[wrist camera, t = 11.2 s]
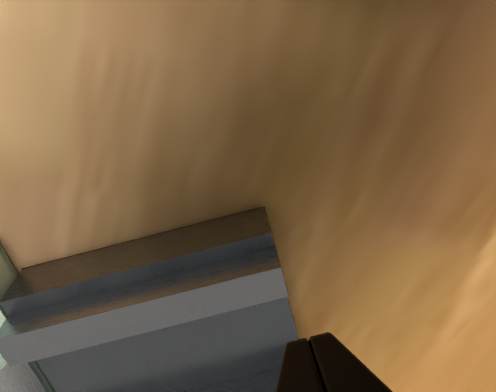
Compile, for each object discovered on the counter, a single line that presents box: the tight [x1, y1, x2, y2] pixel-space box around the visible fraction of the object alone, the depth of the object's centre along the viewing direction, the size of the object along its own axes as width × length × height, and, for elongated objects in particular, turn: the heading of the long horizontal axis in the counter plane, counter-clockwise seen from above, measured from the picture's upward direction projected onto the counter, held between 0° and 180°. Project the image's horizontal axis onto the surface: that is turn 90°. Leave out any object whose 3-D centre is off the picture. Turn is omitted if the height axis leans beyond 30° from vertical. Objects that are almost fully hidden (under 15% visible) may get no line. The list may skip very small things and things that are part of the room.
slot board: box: [0, 207, 298, 392], centre depth 20 cm, size 12×10×4 cm
